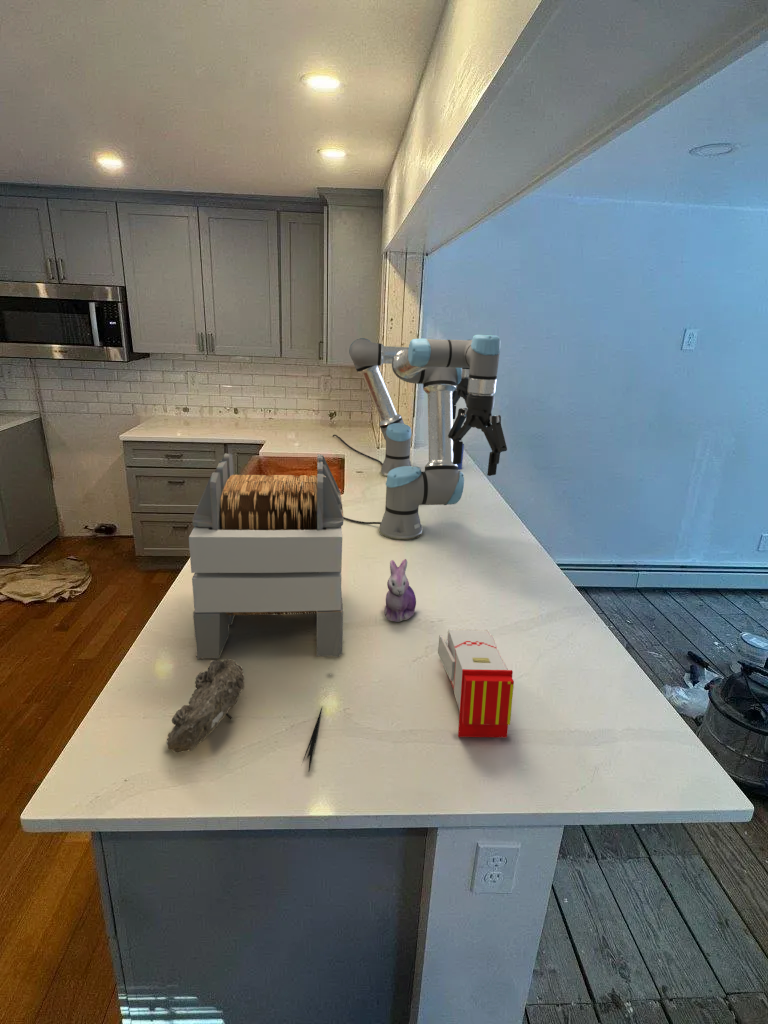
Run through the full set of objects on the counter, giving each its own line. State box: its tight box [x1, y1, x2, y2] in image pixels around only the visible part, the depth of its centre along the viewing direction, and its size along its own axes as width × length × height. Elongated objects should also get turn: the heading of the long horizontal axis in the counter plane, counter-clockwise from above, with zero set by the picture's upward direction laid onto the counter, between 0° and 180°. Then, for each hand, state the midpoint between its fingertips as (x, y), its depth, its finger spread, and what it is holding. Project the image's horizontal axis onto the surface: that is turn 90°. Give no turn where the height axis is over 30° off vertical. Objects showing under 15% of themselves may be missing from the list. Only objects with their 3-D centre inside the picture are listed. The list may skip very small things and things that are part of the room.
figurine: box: [384, 558, 417, 623], centre depth 145 cm, size 9×10×15 cm
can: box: [453, 443, 465, 471], centre depth 285 cm, size 6×6×13 cm
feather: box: [301, 673, 332, 771], centre depth 108 cm, size 2×28×2 cm
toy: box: [437, 628, 515, 738], centre depth 117 cm, size 12×13×30 cm
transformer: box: [188, 452, 345, 660], centre depth 135 cm, size 34×33×41 cm
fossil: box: [166, 658, 245, 754], centre depth 106 cm, size 22×10×15 cm
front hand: (473, 469), depth 162 cm, fingers open, 13 cm apart
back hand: (460, 421), depth 279 cm, fingers open, 13 cm apart
